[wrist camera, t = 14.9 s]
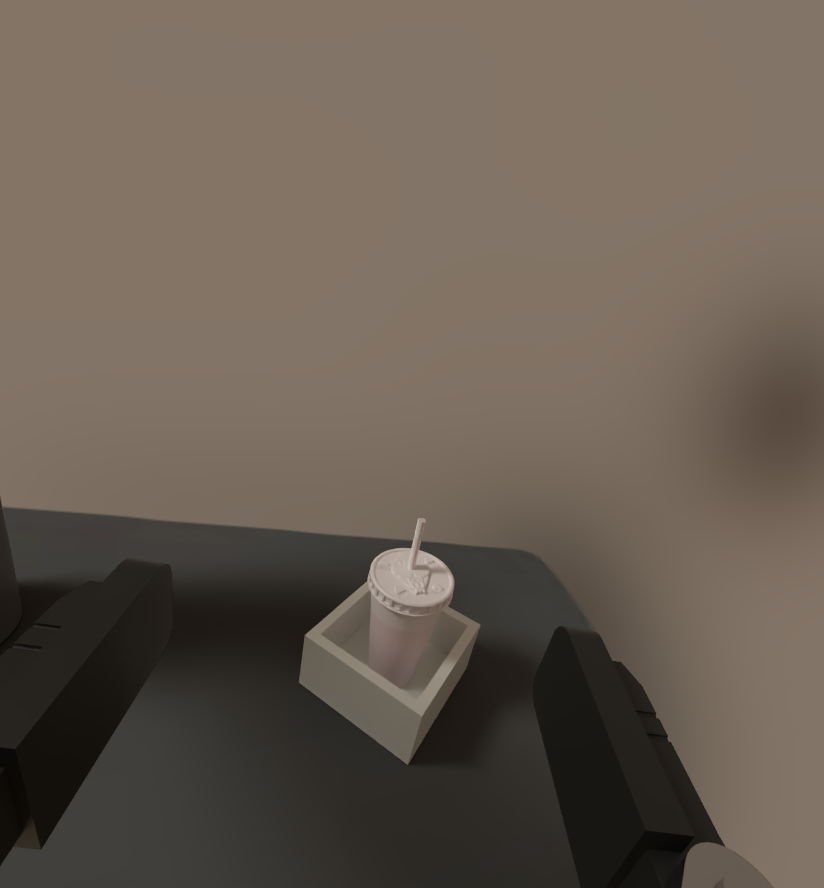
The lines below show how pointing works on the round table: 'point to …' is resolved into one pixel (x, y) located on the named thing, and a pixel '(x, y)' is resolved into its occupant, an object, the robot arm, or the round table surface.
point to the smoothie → (405, 607)
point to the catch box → (372, 696)
